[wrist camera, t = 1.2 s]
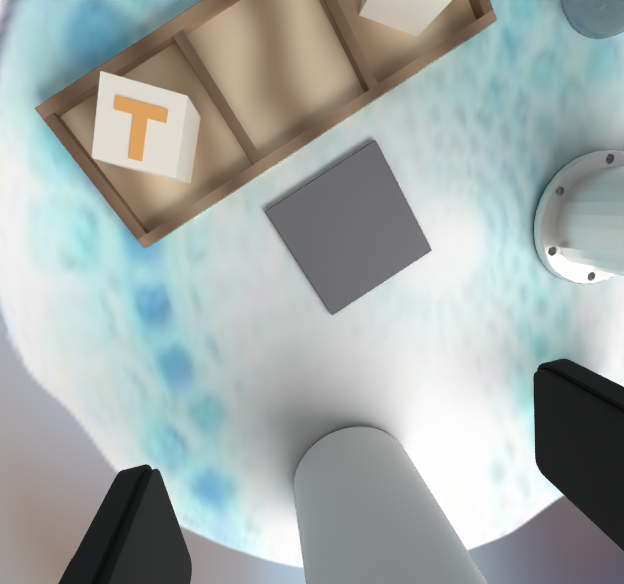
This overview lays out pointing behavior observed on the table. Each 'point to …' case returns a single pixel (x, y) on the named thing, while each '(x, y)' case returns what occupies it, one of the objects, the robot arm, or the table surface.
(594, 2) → the grey green pot
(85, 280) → the table surface
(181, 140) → the letter block
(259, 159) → the tray board
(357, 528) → the cylinder vase
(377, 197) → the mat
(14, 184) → the table surface
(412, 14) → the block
